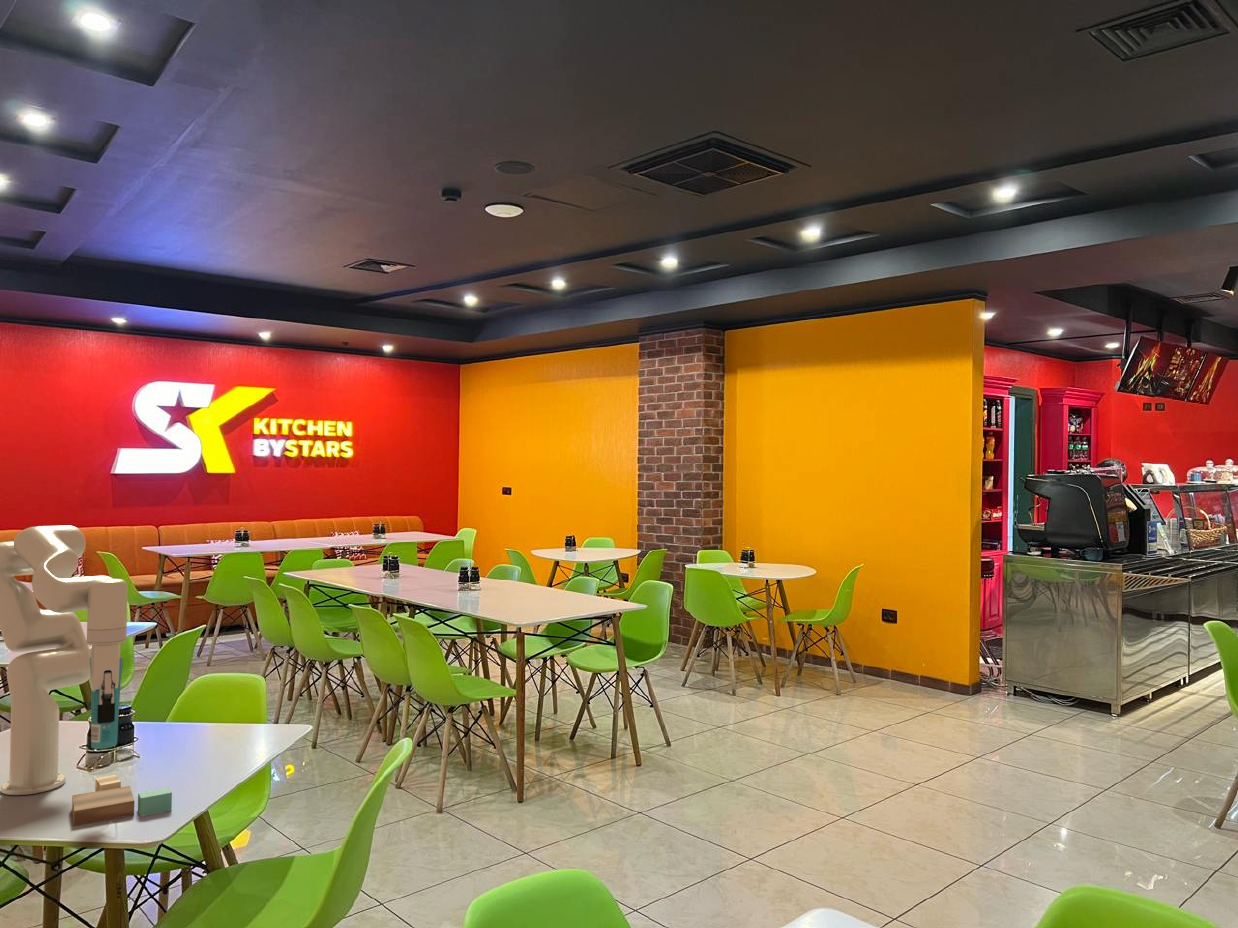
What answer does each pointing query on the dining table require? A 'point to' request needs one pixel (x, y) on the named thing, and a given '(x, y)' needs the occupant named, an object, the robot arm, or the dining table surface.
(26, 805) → the dining table surface
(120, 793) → the plinth
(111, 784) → the beech block
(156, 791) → the teal block
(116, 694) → the tube
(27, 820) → the dining table surface
